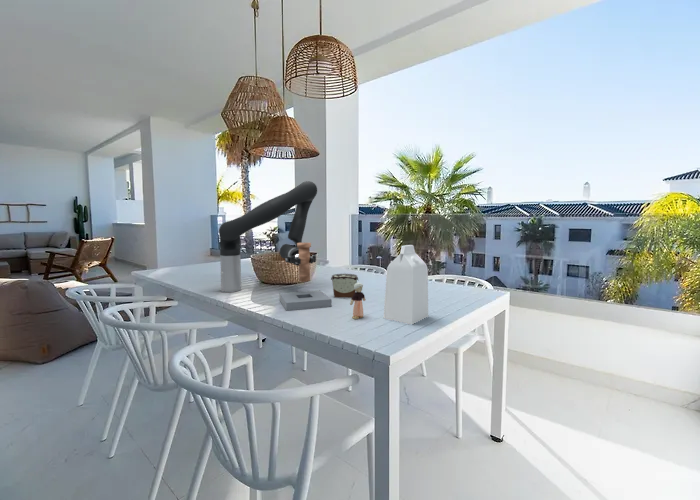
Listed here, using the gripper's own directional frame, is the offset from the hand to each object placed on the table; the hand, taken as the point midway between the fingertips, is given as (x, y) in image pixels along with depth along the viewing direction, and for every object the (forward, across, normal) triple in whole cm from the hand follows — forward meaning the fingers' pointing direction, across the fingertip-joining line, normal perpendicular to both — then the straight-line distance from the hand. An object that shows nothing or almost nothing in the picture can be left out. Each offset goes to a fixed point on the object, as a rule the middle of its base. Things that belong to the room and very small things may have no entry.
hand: (305, 261), depth 142 cm
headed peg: (-3, 0, +8) cm, 9 cm away
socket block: (-3, 0, +18) cm, 18 cm away
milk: (+29, +30, +18) cm, 46 cm away
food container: (-9, +20, +18) cm, 28 cm away
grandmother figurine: (+23, +14, +18) cm, 33 cm away
